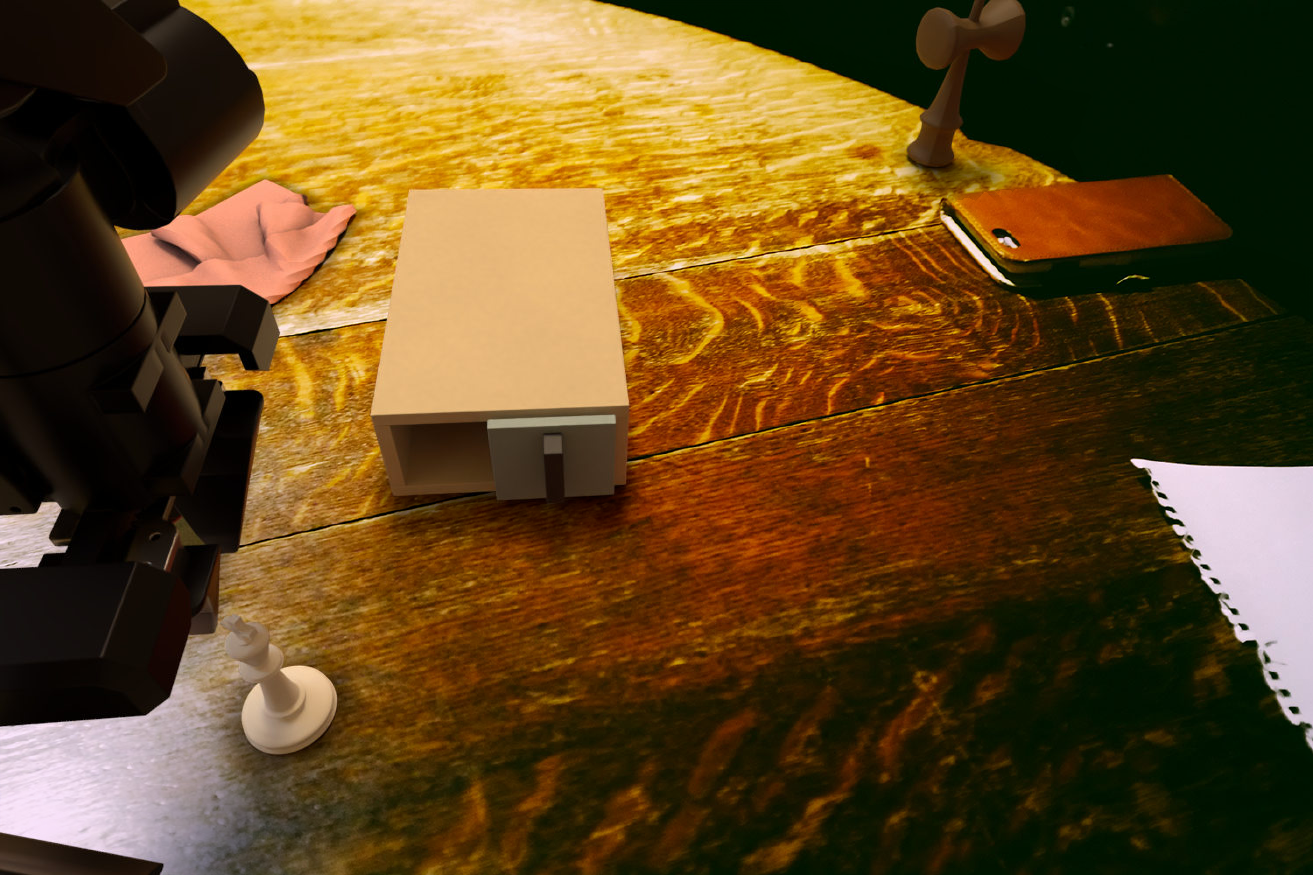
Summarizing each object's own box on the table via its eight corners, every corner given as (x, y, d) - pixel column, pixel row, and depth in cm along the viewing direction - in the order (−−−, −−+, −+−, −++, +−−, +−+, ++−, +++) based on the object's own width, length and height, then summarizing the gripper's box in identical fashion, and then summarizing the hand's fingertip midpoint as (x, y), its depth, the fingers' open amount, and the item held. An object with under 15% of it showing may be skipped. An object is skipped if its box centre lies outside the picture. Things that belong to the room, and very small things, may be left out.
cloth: (126, 348, 65) (113, 324, 63) (117, 205, 78) (105, 182, 76) (388, 290, 71) (382, 267, 70) (339, 168, 84) (333, 146, 83)
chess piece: (299, 768, 44) (239, 683, 36) (223, 733, 45) (151, 643, 37) (355, 688, 47) (311, 595, 40) (283, 657, 48) (227, 560, 41)
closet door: (616, 515, 56) (618, 444, 50) (496, 521, 55) (486, 450, 50) (613, 485, 57) (615, 414, 52) (497, 491, 57) (487, 419, 51)
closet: (625, 484, 58) (629, 405, 52) (393, 496, 56) (369, 415, 50) (602, 266, 76) (602, 187, 70) (423, 269, 74) (409, 189, 68)
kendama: (978, 164, 92) (1051, -30, 78) (911, 180, 89) (974, -20, 74) (944, 139, 96) (1007, -51, 81) (878, 154, 93) (931, -42, 78)
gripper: (-93, 160, 30) (95, 442, 42) (-519, 594, 18) (-86, 826, 29) (223, 159, 32) (321, 433, 43) (30, 564, 19) (240, 798, 31)
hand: (215, 589), depth 37 cm, fingers open, 4 cm apart
